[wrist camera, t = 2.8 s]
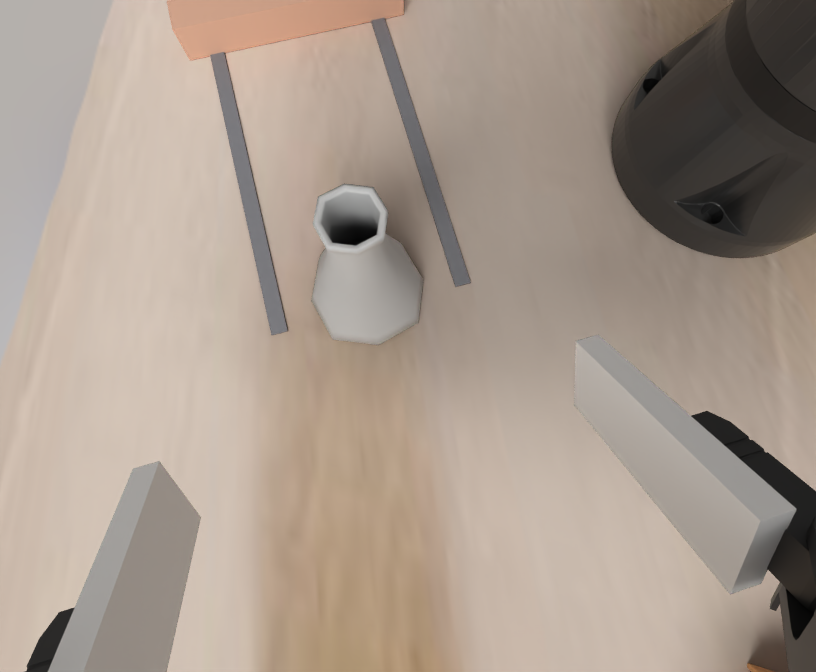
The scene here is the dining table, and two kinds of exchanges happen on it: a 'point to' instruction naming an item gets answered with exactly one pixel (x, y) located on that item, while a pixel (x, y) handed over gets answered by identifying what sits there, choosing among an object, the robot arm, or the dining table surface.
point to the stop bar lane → (281, 20)
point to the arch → (757, 668)
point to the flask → (362, 269)
